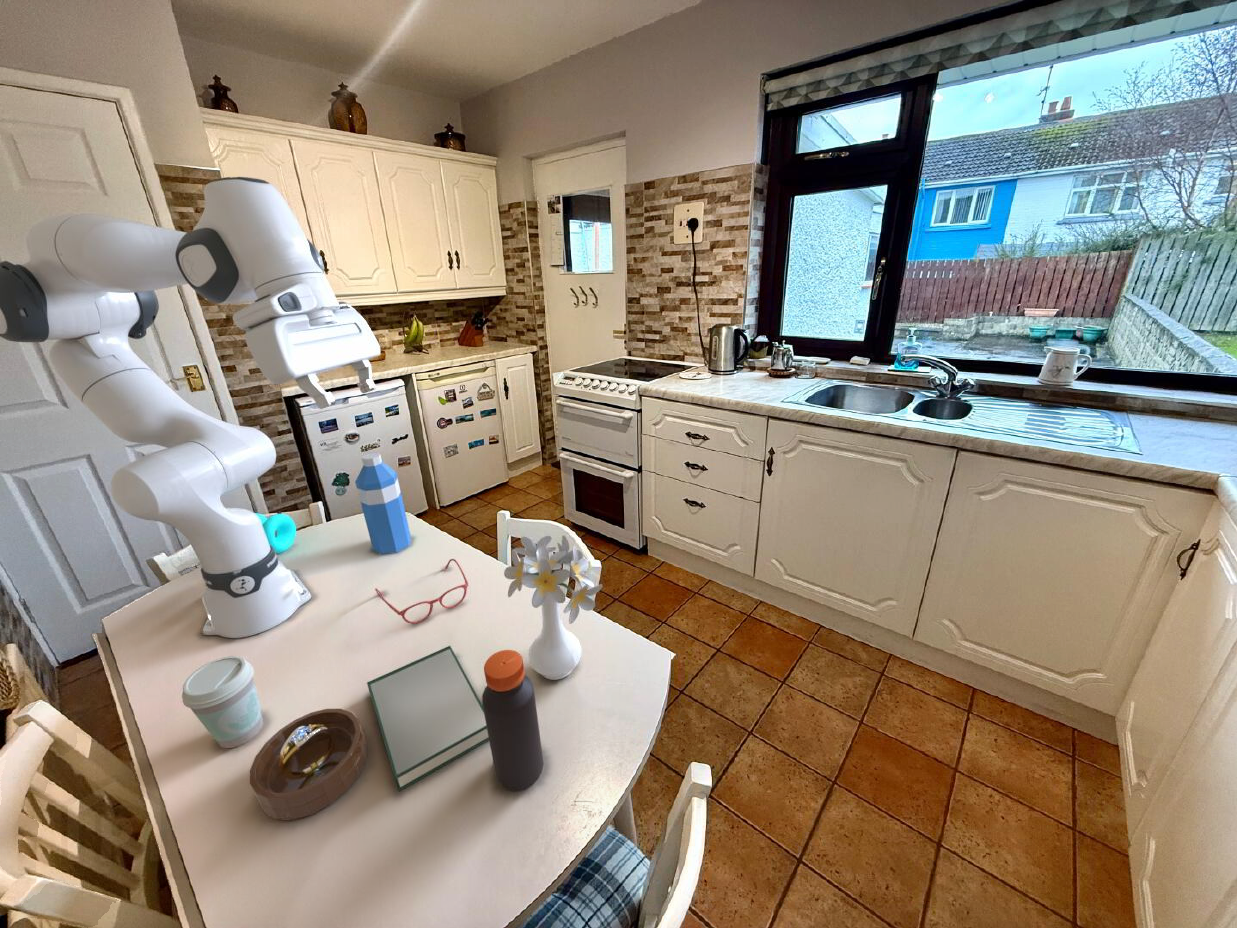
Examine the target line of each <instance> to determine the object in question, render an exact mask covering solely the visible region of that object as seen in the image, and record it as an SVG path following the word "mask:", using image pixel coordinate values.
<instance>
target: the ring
mask: <svg viewBox="0 0 1237 928" xmlns="http://www.w3.org/2000/svg"><path fill="white" fill-rule="evenodd" d="M309 733H310V734H309ZM319 733H326V734H327V735H328V737H329V745H328V748H327V751H326V752H325V754H324V755H323V757H322V758H321V759H320V760H319V761H318V762H314V763H313V764H311V765H310V767H309V768H307V769H305V770H302V771H299V772H291V771H288V766H289V763H290V761H291V759H292V758H293V756H294V755H295V754H296V752H297V751H298V750H299V749H300V747H301V746H302V745H303V744H305V743H306V742H307V741H309V740H310V739H311V738H312V737H314V736H315V735H317V734H319ZM308 734H309V735H308ZM294 744H295V745H296V746H295V747H294V748H293V749H292V750H291V751H290V752H289V753H288V754H287V751H288V749H289V747H292V746H293V745H294ZM335 746H336V736H335V734H334V733H333V731H332V730H331V729H330V728H329V727H328V726H326V725H322V724H316V725H309V726H301V727H299V728H297V729H296V730H294V731H293V733H292V734H291V735H290V736H289V738H288V739H287V741H286V742H285V744H284V746H283V747H282V750H281V752H280V756H279V768H280V770H281V773H282V774H283V776H284V777H285V778H287V779H290V780H296V779H301V778H304V777H306V776H308V775H310V774H312V773H316V772H318V771H319V770H320V768H321V767H322V766H323V765H324V764H325V763H326V762H327V761H328V760H329V758H330V757H331V755H332V754H333V752H334V749H335ZM286 754H287V755H286Z"/></svg>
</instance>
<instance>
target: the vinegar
mask: <svg viewBox="0 0 1237 928" xmlns="http://www.w3.org/2000/svg"><path fill="white" fill-rule="evenodd" d="M524 665H525V664H524V659H523V656H522V654H521V653H519V652H518V651H516V650H513V649H504V650H503V649H502V650H499V651H497V652H495V653H493V654H491V655H490V656H489V657H488V658H487V659H486V661H485V662H484V665H483V672H484V677H485V683H486V686H485V687H484V690H483V692H482V695H481V704H482V706H483V710H484V716H485V721H486V726H487V732H488V737H489V740H488V742H489V747H490V753H491V759H492V764H493V769H494V773H495V777H496V780H497V782H498V784H499V785H500V786H501V787H502V788H503V789H505V790H508V791H512V792H513V791H515V792H518V791H523V790H527V788H530V787H531V786H533V785H534V784H535V782H536V781H538V779H539V778H540V776H541V774H542V773H543V768H544V757H543V750H542V741H541V734H540V726H539V720H538V717H539V716H538V710H537V703H536V696H535V695H536V694H535V687H534V683H533V682H532V680H531V678H530V677H528V676H527V675H526V674H525V666H524Z"/></svg>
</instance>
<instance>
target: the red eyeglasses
mask: <svg viewBox="0 0 1237 928" xmlns="http://www.w3.org/2000/svg"><path fill="white" fill-rule="evenodd" d="M451 562H454V563H455V565H457V567H458V569H459V570H460V573H461V575H462V577H463V579H464V584H460V585H457V586H455V587H452V588H450V589H448V590H447V591H445V592H444V593H442V594H441V595H440V596H439V597H437V598H435V599H431V600H424V601H420V602H416V603H414V604H412V605H410V606H408V607H405V608H404V609H402V610H398V609H397V608H396V607H395V606H393V605H392V604H391V603H389V601H387V600H386V599H385V598H384V597H383V593H382V592H381V591H380V590H379V589H378V588H377V587H376V588H374V590H375V592H376V594H377V595H378V597H379V598H380V599H381V600H382V601H383V602H384V603H385V604H386V605H387V606H388V607H389V608H390V609H391V610H392V611H393V612H395V613H396V614H397V615H398V616H401V617H402V619H403V621H404V622H406V623H407V624H411V625H417V624H420V623H422V622H425V621H426V620H427V619H428V618H429V617H430V616H431V614H432V612H433V610H434V604H436V603H439V604H440V606H441V607H443V608H444V609H449V610H450V609H454V608H456V607H457V606H458V607H459V605H460V604H461V603H462V602H464V600H465V598H466V597H467V596H466V595H467V592H468V586H469V581H468V579H467V577H466V575H465V572H464V571H463V569H462V567H461V566H460V564H459V562H458V561H457V560H456V559H455V558H451V559H449V560H448V562H447V563H446V565H445V570H448V569H449V566H450V563H451ZM460 588H463V595H462V597H461V598H460V600H459V601H458V602H457V603H456V604H454V605H450V606H447V605H445V604H443V598H444V597H445V596H446V595H447V594H449V593H450V592H453V591H455V590H457V589H460ZM423 604H428V605H429V611H428V613H427V614H426V615H425V616H424V618H422V619H420V620H418V621H410V620H408V619H407V618H406V616H405V615H406V613H407V611H409V610H410V609H412V608H414V607H416V606H420V605H423Z"/></svg>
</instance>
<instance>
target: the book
mask: <svg viewBox="0 0 1237 928" xmlns="http://www.w3.org/2000/svg"><path fill="white" fill-rule="evenodd" d="M366 684H367V688H368V691H369V694H370V699H371V702H372V706H373V708H374V713H375V716H376V719H377V722H378V726H379V729H380V733H381V736H382V739H383V743H384V746H385V750H386V753H387V757H388V760H389V763H390V767H391V771H392V773H393V776H394V780H395V784H396V787H397V790H398V792H401V791H403V790H404V789H406V788H408V787H411V785H413V784H415V783H417V782H418V781H420V780H423V779H424V778H425V777H427V776H429V775H430V774H432V773H434V772H436V771H438V770H440V769H441V768H443V767H444V766H447V765H448V764H450V763H452V762H453V761H455V760H457V759H459V758H461V757H462V756H464V755H466V754H467V753H469V752H471V751H472V750H474V749H476V748H478V747H479V746H482V745H484V744H485V743H487V742H489V737H488V732H487V726H486V721H485V716H484V710H483V705H482V701H481V700H480V698H479V696H478V694H477V693H476V691H475V688H474V687H473V685H472V683H471V681H470V679H469V678H468V676H467V674H466V672H465V670H464V669H463V667H462V665H461V663H460V661H459V659H458V657H457V656H456V654H455V652H454V650H453V648H452V645H448V646H446V647H444V648H441V649H438V650H437V651H434V652H432V653H430V654H428V655H426V656H423V657H421V658H419V659H416V660H414V661H412V662H410V663H408V664H405V665H403V666H400V667H399V668H397V669H394V670H392V671H390V672H387V673H385V674H383V675H380V676H379V677H376V678H374V679H372V680H369V681H367V682H366Z"/></svg>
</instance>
